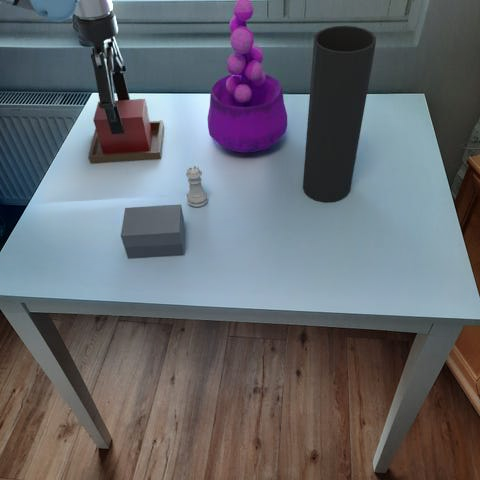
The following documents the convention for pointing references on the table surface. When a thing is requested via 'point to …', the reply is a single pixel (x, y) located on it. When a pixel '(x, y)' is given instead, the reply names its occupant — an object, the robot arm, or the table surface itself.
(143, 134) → the burgundy book
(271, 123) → the decorative plant
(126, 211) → the gray box
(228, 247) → the table surface
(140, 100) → the burgundy book
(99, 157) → the book tray
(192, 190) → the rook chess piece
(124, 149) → the burgundy book
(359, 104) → the vase
